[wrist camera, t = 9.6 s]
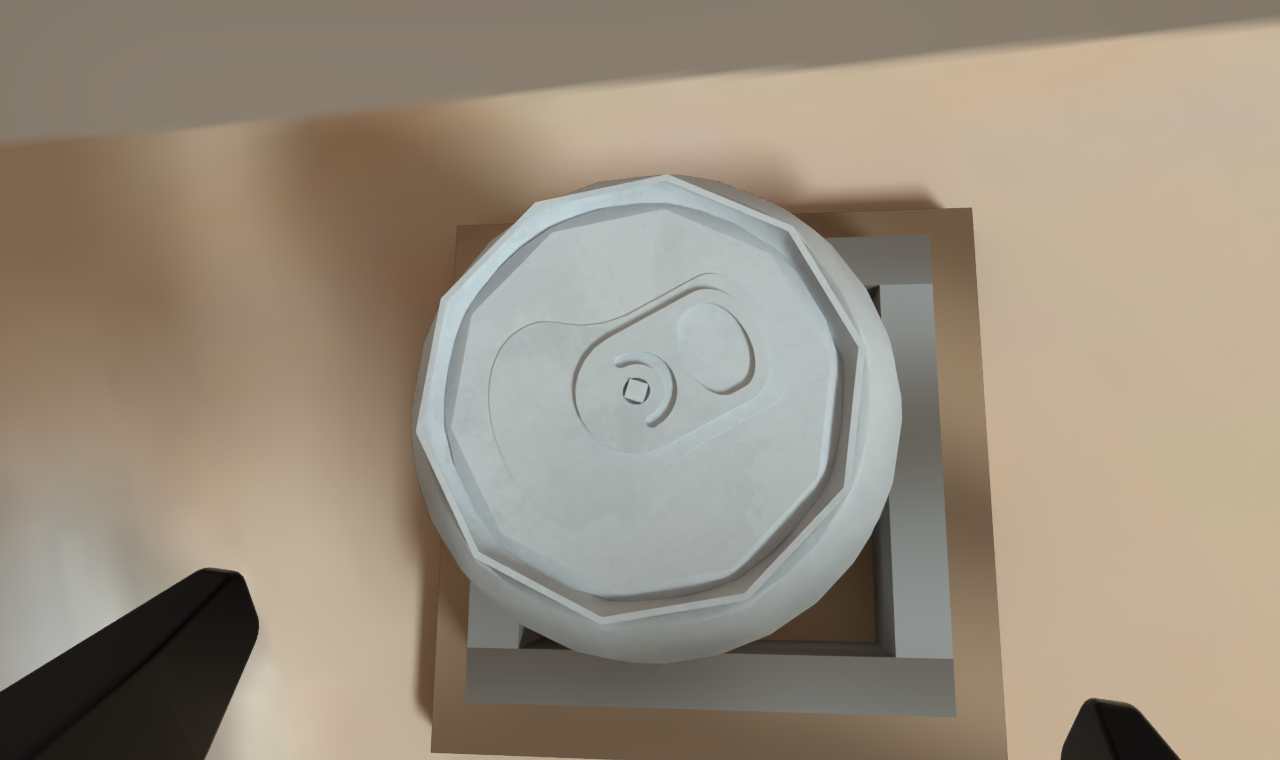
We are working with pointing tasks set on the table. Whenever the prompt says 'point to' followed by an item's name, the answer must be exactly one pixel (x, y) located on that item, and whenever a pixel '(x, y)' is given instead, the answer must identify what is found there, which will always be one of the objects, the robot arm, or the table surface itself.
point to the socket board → (827, 631)
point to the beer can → (656, 419)
